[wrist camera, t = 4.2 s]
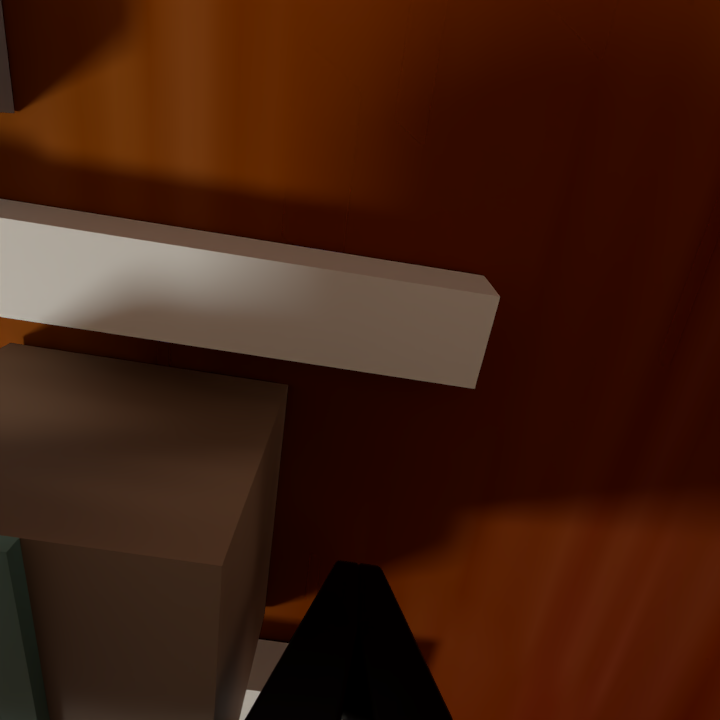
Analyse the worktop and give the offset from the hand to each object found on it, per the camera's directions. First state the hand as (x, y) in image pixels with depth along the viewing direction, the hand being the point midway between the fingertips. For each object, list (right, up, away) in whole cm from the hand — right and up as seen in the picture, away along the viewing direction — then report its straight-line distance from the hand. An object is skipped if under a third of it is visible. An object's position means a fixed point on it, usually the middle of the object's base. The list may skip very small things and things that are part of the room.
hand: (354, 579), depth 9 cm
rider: (-4, +1, +1) cm, 4 cm away
